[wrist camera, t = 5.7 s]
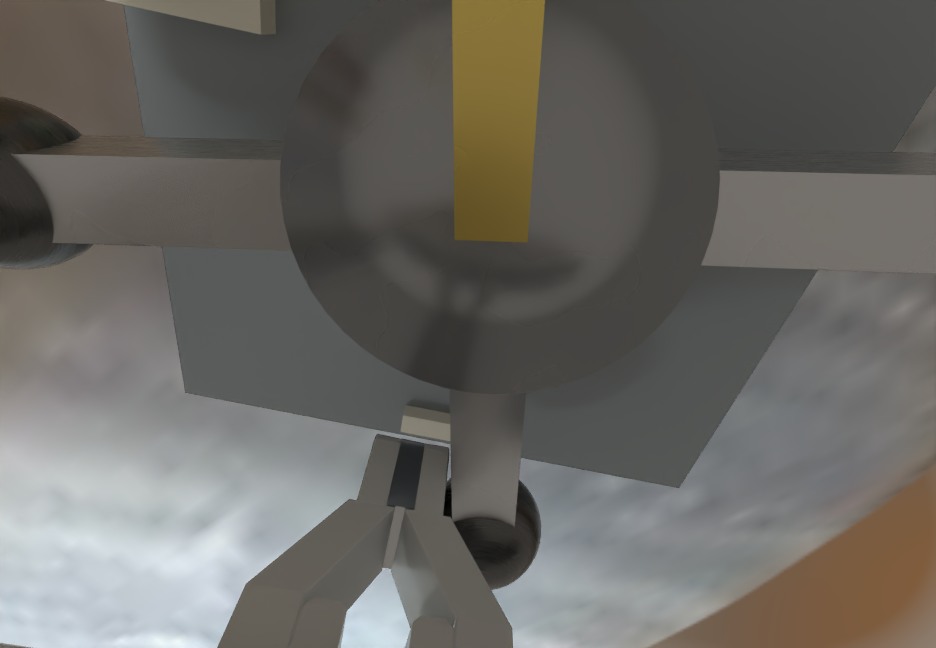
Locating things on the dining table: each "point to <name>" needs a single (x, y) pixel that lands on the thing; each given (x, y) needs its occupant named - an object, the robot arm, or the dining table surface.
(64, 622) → the dining table surface
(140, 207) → the capstan
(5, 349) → the dining table surface
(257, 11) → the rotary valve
